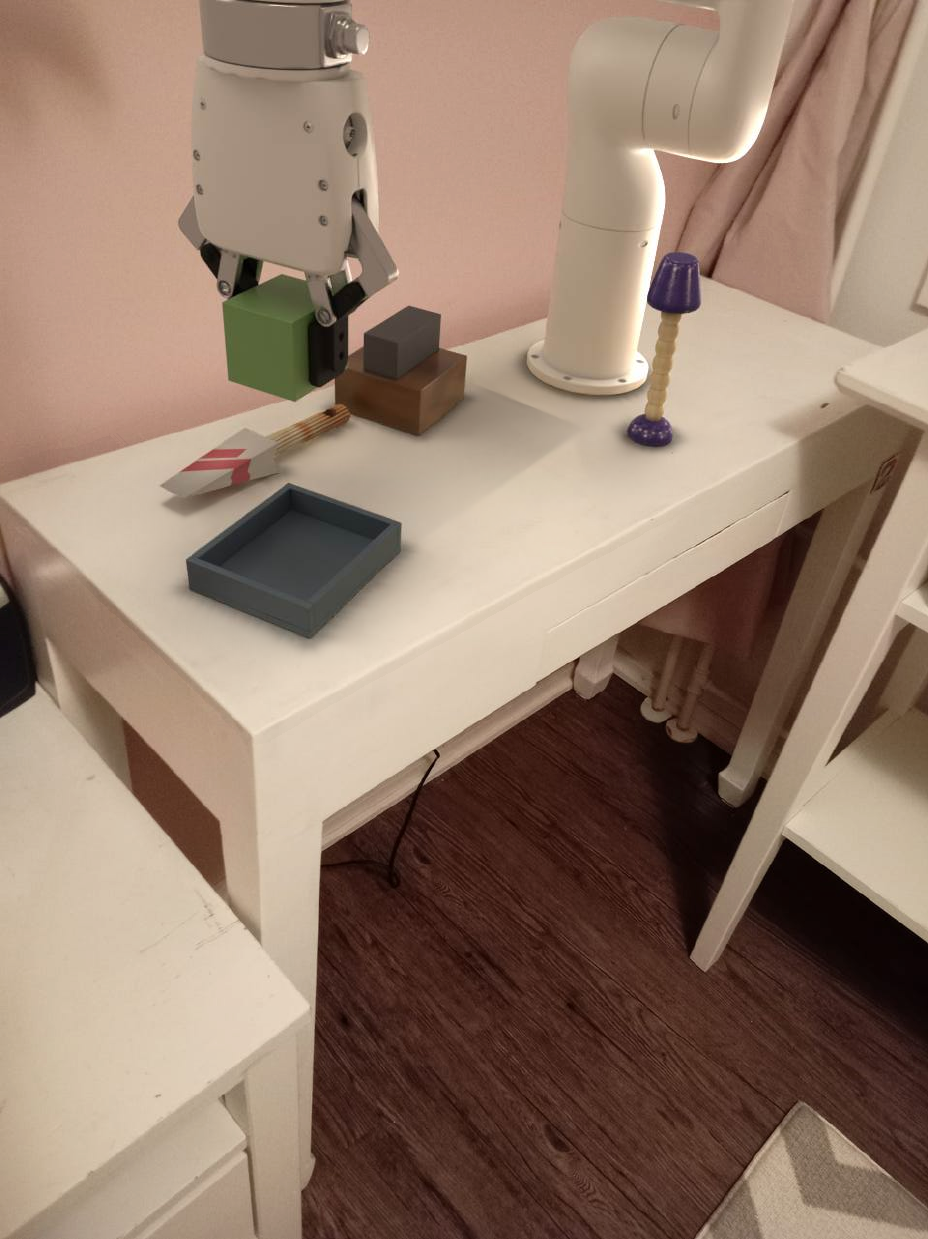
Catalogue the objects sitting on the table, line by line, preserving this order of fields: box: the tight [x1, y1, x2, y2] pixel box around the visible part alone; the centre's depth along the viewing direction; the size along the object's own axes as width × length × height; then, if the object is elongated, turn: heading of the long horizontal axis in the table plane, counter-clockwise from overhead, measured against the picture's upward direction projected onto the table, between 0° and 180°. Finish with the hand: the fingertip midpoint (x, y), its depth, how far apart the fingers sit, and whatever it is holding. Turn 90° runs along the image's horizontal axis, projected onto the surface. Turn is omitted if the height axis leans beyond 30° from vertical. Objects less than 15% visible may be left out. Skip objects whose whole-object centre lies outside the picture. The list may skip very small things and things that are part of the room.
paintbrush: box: [158, 404, 351, 499], centre depth 82 cm, size 4×3×20 cm
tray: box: [185, 482, 402, 639], centre depth 71 cm, size 12×10×3 cm
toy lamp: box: [626, 251, 702, 447], centre depth 87 cm, size 5×5×17 cm
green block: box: [221, 273, 348, 403], centre depth 60 cm, size 6×5×5 cm
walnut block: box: [334, 345, 468, 437], centre depth 92 cm, size 9×9×4 cm
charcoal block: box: [363, 305, 442, 380], centre depth 89 cm, size 8×4×4 cm, turn 153°
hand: (289, 364), depth 61 cm, fingers closed on green block, 5 cm apart
